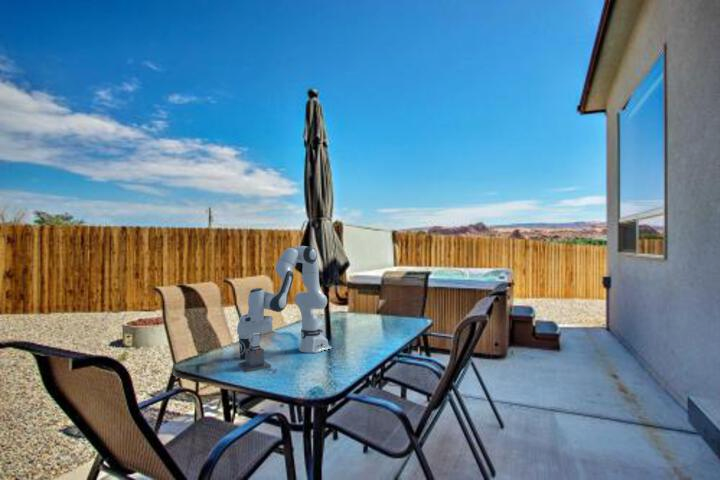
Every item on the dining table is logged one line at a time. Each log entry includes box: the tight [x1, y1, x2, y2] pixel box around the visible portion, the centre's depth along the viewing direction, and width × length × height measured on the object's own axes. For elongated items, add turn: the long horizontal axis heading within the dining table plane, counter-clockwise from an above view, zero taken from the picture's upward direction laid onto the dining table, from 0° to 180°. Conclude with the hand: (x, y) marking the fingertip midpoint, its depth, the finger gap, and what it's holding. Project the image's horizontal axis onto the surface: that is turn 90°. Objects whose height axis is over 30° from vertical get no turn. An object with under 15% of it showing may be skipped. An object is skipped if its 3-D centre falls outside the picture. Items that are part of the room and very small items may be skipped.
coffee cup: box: [237, 334, 253, 361], centre depth 225 cm, size 10×10×15 cm
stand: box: [237, 347, 272, 373], centre depth 208 cm, size 14×14×10 cm
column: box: [250, 333, 261, 351], centre depth 208 cm, size 4×4×16 cm
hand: (255, 340), depth 209 cm, fingers closed on column, 4 cm apart
